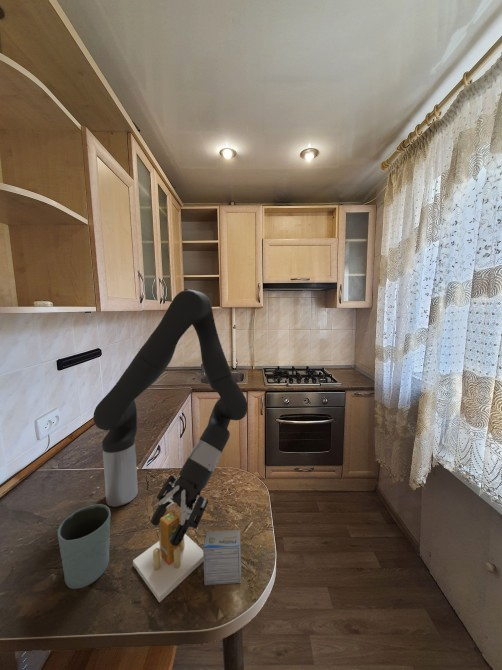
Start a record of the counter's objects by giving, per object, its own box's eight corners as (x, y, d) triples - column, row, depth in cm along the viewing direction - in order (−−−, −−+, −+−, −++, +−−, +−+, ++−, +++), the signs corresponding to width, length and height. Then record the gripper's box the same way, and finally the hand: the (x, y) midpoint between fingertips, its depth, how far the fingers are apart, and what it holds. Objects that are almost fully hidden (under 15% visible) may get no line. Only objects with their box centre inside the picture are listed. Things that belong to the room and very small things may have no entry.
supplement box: (168, 567, 56) (166, 525, 55) (161, 557, 58) (158, 517, 58) (181, 556, 58) (179, 516, 58) (173, 547, 61) (171, 509, 60)
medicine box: (241, 564, 58) (240, 528, 57) (241, 584, 53) (240, 546, 53) (207, 566, 57) (205, 530, 57) (204, 586, 53) (202, 548, 52)
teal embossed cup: (85, 547, 63) (82, 502, 62) (123, 550, 62) (120, 504, 61) (49, 591, 53) (44, 538, 52) (93, 595, 52) (89, 541, 51)
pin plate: (133, 565, 58) (131, 544, 58) (178, 531, 67) (177, 512, 67) (159, 602, 50) (158, 578, 50) (206, 558, 59) (205, 537, 59)
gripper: (176, 448, 67) (136, 514, 60) (210, 468, 58) (168, 549, 50) (193, 459, 72) (158, 521, 64) (227, 478, 62) (191, 555, 55)
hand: (163, 534), depth 57 cm, fingers open, 8 cm apart
